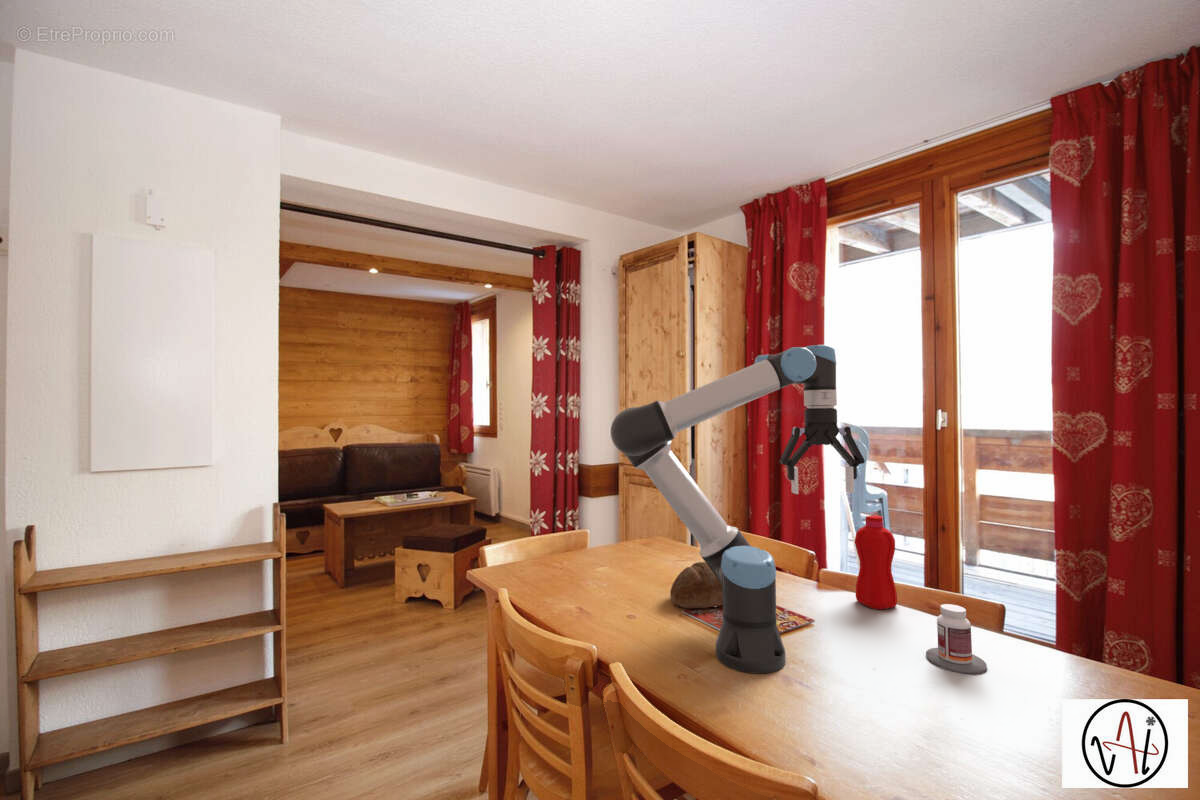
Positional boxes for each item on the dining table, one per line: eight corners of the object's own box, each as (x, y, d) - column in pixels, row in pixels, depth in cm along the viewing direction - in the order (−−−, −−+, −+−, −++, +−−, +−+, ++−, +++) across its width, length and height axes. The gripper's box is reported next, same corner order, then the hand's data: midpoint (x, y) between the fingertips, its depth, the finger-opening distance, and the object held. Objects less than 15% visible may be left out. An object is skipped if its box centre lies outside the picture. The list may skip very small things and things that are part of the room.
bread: (769, 596, 157) (768, 558, 158) (694, 617, 142) (693, 575, 143) (731, 582, 171) (730, 547, 171) (659, 600, 156) (658, 561, 156)
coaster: (946, 674, 110) (946, 671, 110) (915, 650, 121) (915, 647, 121) (999, 673, 110) (999, 670, 110) (963, 649, 121) (963, 647, 121)
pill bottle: (977, 660, 114) (975, 609, 115) (964, 668, 111) (963, 615, 111) (945, 649, 120) (944, 600, 120) (932, 657, 116) (931, 606, 116)
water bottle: (871, 595, 157) (868, 510, 157) (902, 607, 146) (900, 517, 147) (846, 598, 154) (844, 512, 155) (876, 612, 144) (874, 520, 144)
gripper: (775, 408, 128) (777, 495, 128) (878, 406, 128) (880, 494, 127) (765, 408, 135) (767, 491, 135) (863, 406, 135) (865, 489, 135)
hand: (822, 493), depth 131 cm, fingers open, 13 cm apart
